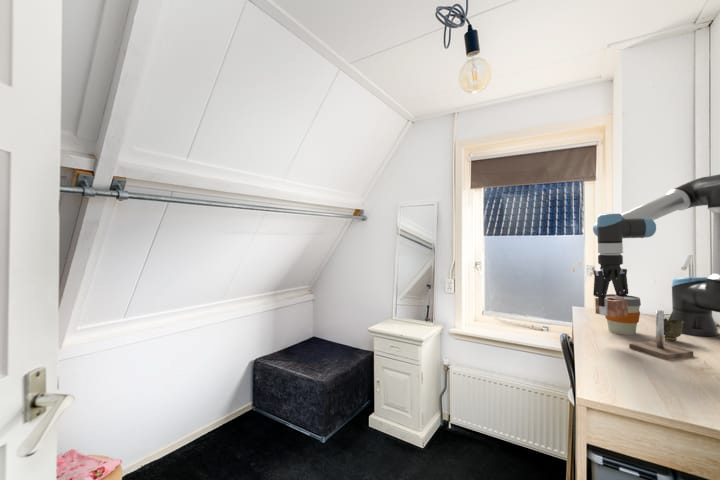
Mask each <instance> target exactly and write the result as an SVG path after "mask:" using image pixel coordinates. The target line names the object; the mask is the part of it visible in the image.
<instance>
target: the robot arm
mask: <svg viewBox="0 0 720 480" xmlns="http://www.w3.org/2000/svg"><path fill="white" fill-rule="evenodd" d="M701 206H707V210H709V211H711V212H712V215H713V216H712V217H713V218H712V223H713V224H712V266H711V267H712V273H711V274H710V275H708V276H703V277H702V276H701V277H700V276H699V277H697V276H696V277H692V276H691V277H674V278H673V279H672V283H671V297H672V299H671V303H672V311H671V313H670V315H669V317H668V320H669V319H671V320H673V319H676V320H679V322H682V321H683V322H684V324H683V330H682V334H685V335H691V336H701V337H702V336H703V337H715V336H718V335H719V330H718V329H719V328H718V326H717V324H716V322H715V320H714V318H713V314H712V312H715V313H720V173H719V174H716V175H715V174H714V175H709V176H708V175H707V176H702V177H699V178H696V179H693V180H691V181H689V182H686V183H684V184H681V185H679V186H676V187H675V188H673V189H669V190H668V191H667V193H666V194H665V195H663V196H660V197H658V198H655V199H653V200H650V201H648V202H646V203H644V204H641V205H638V206H637V207H634V208H633V209H631V210H628V211H625V212H623V213H604V214H599V215H598V216H597V220H596V222H595V223H594V224H593V227H592V232H593V233H594V235H595V236H597V253H598V255H597V262H598V263H597V264H598V265H599V266H600V268H599V269H598V270H597V269H595V270H593V274H594V278H593V279H594V280H593V281H594V282H593V296H594V297H595V298H598V301H599V314H598V315H600V314H601V316H608V298H606V295H607V293H608V289H609V286H610V283H611V282H612V286H613V290H614V292H615V294H616V295H618V296H615V298H619V299H624V297H626V296H627V295H629V286H628V278H627V274H628V273H627V272H628V269H627V268H622V267H621V265H623V264H624V259H623V258H624V256H623V255H622V254H623V253H624V247H623V245H624V244H623V239H644V238H650V237H652V236H654V235H655V234H656V231H657V224H656V222H655V220H657V219H659V218H661V217H664V216H666V215H669V214H672V213H673V212H677V211H685V210H687V209H690V208H691V209H692V208H694V207H701Z"/></svg>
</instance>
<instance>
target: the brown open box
mask: <svg viewBox="0 0 720 480" xmlns="http://www.w3.org/2000/svg"><path fill="white" fill-rule="evenodd" d="M606 298H608V316H609V317H613V318H615V317H623V316H628V300H625V299H619V298H613V297H606ZM594 301H595V303H594V304H595V314H597V315H601V314H599V301H598V297H595V299H594ZM601 316H602V315H601Z"/></svg>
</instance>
